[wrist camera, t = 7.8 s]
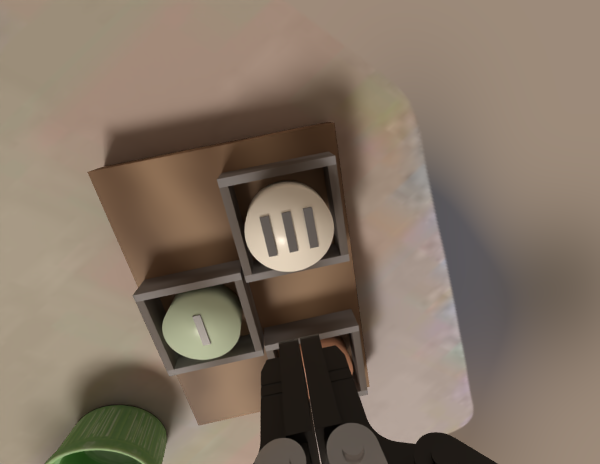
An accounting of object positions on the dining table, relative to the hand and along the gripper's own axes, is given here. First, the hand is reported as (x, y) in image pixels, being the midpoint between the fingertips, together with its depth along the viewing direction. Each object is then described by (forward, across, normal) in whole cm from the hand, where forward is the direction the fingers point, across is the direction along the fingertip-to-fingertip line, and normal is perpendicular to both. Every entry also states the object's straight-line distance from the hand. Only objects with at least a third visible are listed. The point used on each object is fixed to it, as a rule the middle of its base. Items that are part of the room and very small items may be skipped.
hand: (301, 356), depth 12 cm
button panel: (+13, +3, +4) cm, 14 cm away
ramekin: (+13, +18, +17) cm, 28 cm away
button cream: (+9, -1, -2) cm, 9 cm away
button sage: (+10, +6, +4) cm, 13 cm away
